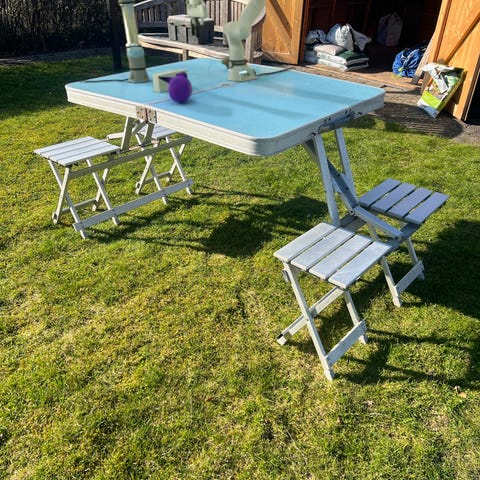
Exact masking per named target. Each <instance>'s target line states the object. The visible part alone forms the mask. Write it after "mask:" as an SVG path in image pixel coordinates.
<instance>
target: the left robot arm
mask: <svg viewBox="0 0 480 480" xmlns="http://www.w3.org/2000/svg"><path fill="white" fill-rule="evenodd" d="M118 5H119V7H121V13H122V19H123V24H124V31H125V38H126V44H125V48H126V49H125V50H126V57H127V59H128V66H129V76H128V78H124V79H99V80H86V79H80V80H79V81H78V83H81V82H84V83H101V82H125V81H128V82H129V83H133V84H141V83H148V82H150V76H149V74H148V71H147V67H146V59H145V50H144V48H143V47H142V43H141V42H140V40H139V34H138V28H137V27H138V26H137V21H136V14H135V9H134V7H135V5H136V0H118ZM194 19H195V21H196V24H193V23H192V19H191V18H190V22H189V23H190V24H189V26H190V28H191V29H190V30H191V37H195V38H196V39H197V38H198V39H199V38H200V27H201V25H200V19H199V17H195V18H194Z"/></svg>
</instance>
